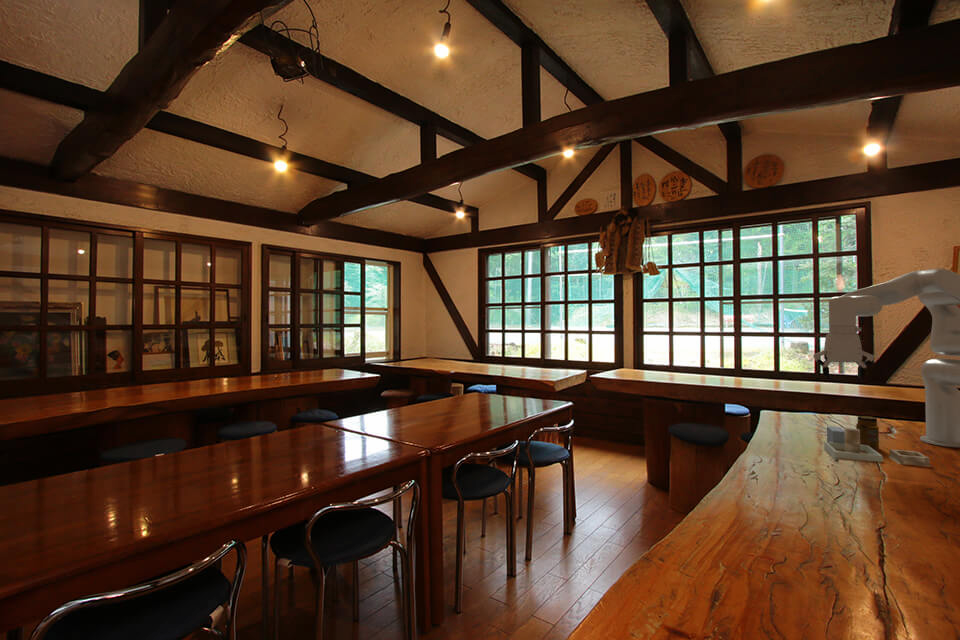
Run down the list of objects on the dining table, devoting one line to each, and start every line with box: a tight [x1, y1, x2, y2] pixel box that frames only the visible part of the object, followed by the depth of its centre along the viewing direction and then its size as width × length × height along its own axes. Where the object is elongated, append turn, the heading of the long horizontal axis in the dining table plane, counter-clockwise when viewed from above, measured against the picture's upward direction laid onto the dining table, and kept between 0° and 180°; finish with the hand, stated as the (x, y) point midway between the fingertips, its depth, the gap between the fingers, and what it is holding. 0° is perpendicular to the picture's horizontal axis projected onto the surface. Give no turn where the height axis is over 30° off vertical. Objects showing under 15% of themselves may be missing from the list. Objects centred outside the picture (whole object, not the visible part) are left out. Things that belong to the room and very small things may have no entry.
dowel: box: [844, 427, 861, 453], centre depth 149 cm, size 4×4×9 cm
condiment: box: [855, 415, 880, 451], centre depth 156 cm, size 7×8×12 cm
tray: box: [823, 441, 884, 463], centre depth 150 cm, size 12×12×3 cm
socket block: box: [887, 449, 932, 468], centre depth 141 cm, size 8×8×4 cm
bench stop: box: [826, 425, 845, 443], centre depth 160 cm, size 4×7×7 cm, turn 155°
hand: (843, 378), depth 156 cm, fingers open, 9 cm apart
